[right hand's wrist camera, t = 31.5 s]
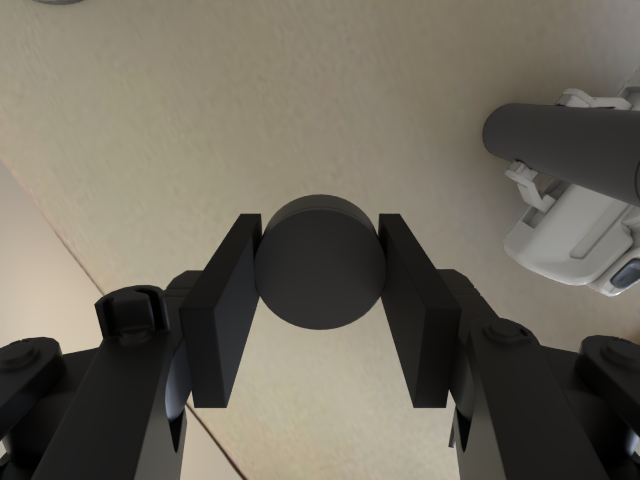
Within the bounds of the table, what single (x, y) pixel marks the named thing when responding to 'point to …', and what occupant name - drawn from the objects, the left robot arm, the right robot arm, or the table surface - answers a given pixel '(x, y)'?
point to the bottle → (572, 145)
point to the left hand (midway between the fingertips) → (536, 133)
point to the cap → (320, 263)
